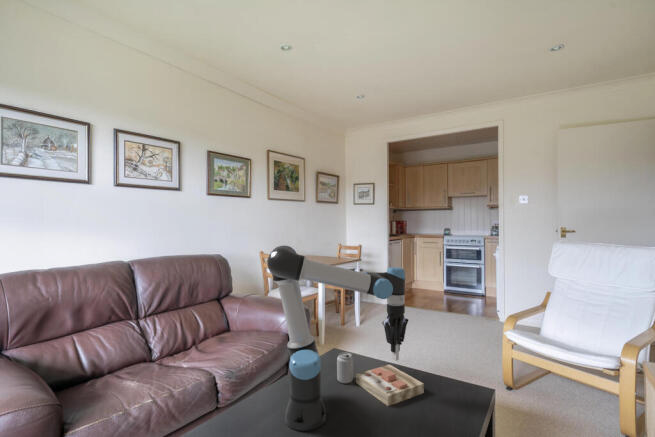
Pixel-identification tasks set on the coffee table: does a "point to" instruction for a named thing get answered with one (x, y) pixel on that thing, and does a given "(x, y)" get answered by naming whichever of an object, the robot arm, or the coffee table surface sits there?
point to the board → (389, 386)
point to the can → (345, 368)
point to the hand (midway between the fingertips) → (395, 359)
